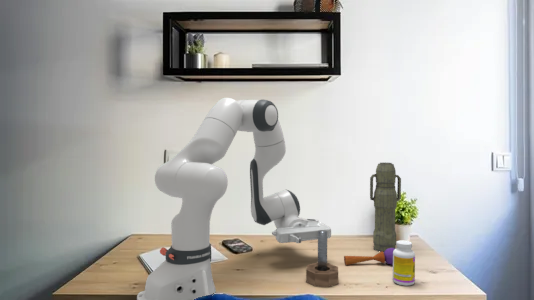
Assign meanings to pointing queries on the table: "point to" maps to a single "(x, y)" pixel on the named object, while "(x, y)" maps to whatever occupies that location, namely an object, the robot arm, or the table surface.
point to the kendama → (380, 257)
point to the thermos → (385, 206)
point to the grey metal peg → (322, 250)
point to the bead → (322, 275)
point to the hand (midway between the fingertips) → (312, 239)
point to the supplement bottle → (403, 263)
